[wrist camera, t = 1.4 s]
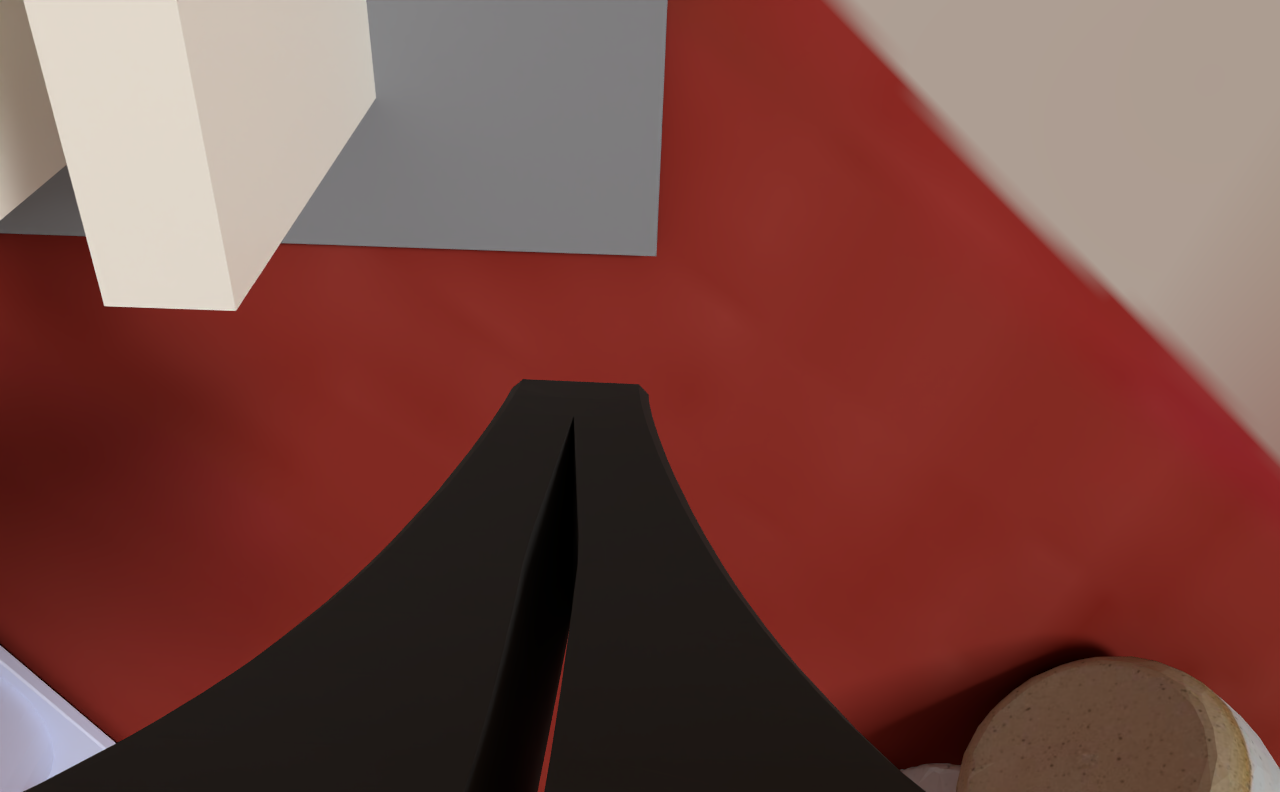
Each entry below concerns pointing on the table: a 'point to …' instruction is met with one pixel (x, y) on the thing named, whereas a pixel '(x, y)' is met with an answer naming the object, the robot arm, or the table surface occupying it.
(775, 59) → the table surface
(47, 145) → the domino
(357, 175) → the mat
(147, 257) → the domino
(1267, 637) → the table surface
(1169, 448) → the table surface
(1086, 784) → the ceramic mug
